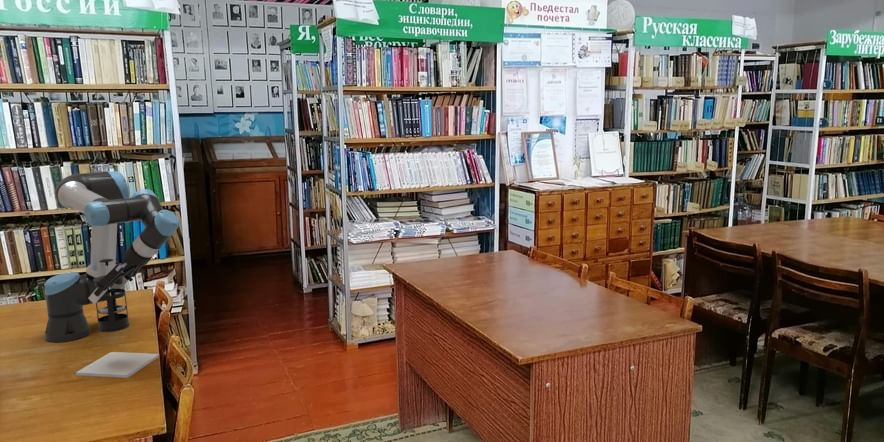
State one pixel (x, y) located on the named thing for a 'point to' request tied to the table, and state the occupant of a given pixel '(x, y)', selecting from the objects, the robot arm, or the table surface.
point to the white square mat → (118, 364)
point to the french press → (112, 307)
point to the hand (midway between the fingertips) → (102, 296)
